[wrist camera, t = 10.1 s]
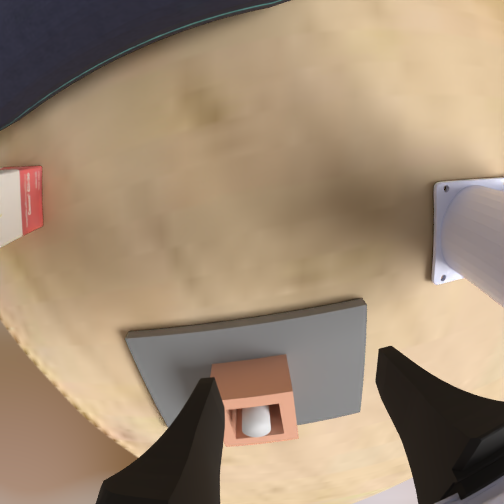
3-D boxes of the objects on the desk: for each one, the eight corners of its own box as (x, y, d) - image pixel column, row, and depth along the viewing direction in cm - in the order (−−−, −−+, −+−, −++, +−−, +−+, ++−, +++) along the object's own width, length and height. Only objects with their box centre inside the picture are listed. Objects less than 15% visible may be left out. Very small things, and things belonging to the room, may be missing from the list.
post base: (362, 298, 22) (391, 339, 16) (357, 404, 25) (373, 447, 20) (128, 331, 22) (104, 376, 17) (174, 427, 26) (165, 471, 21)
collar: (286, 354, 22) (292, 391, 18) (292, 402, 24) (298, 438, 20) (212, 363, 22) (207, 401, 18) (227, 411, 24) (225, 446, 20)
